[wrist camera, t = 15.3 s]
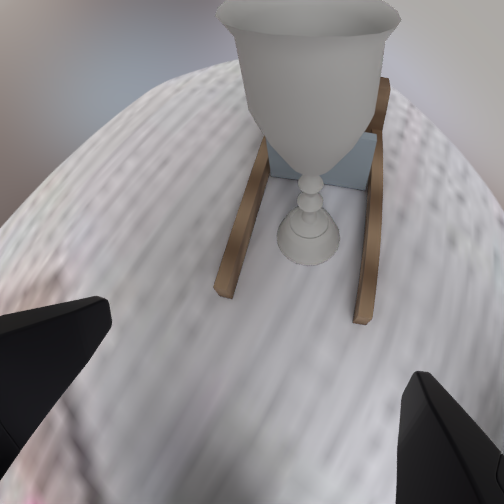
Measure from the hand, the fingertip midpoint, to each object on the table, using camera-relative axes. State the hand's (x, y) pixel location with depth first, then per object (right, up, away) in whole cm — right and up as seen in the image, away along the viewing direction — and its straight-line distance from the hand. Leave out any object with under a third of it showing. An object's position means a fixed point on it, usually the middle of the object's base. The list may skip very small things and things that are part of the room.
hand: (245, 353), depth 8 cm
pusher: (+6, +9, +18) cm, 21 cm away
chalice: (+5, +4, +17) cm, 18 cm away
